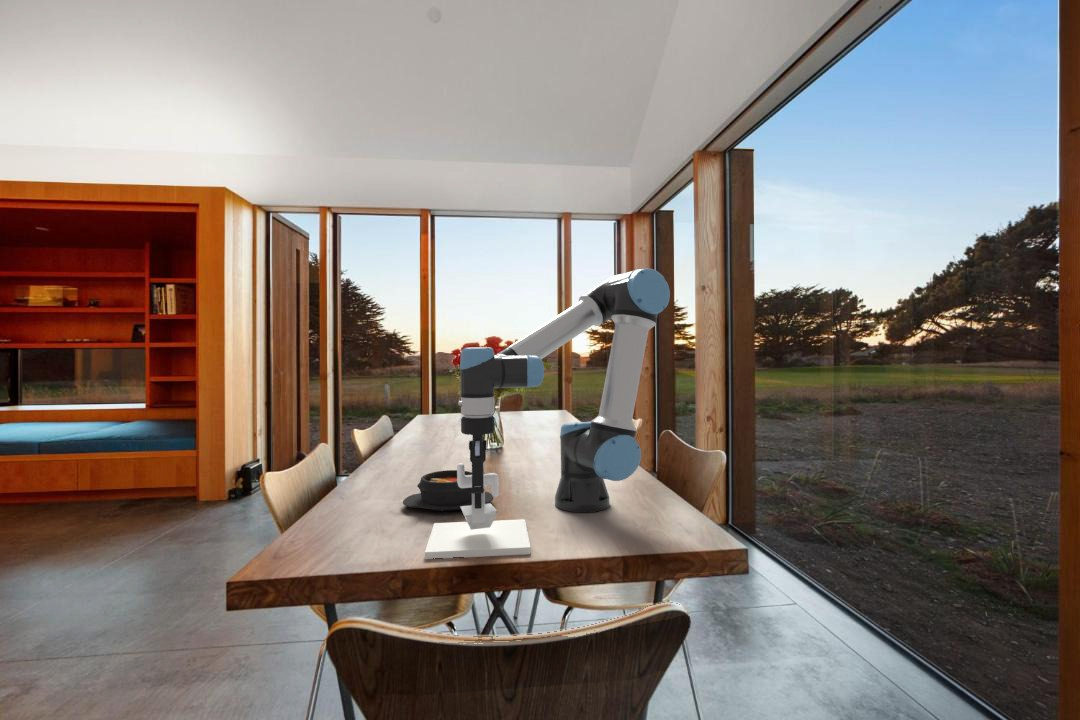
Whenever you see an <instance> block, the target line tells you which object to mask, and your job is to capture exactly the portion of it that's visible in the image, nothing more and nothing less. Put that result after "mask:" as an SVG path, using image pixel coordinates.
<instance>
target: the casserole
mask: <svg viewBox="0 0 1080 720" xmlns="http://www.w3.org/2000/svg"><path fill="white" fill-rule="evenodd" d="M465 475H472V471H466V470H465ZM417 488H418V490H419V493H414V494H411V495H408V496H407V497H405V498H404V499H403V501H402V504H403V506H405V507H407V508H414V509H417V508H418V509H426V510H430V511H436V512H455V511H459V510H461V507H460V506H469V505H472V494H469V490H471V489H472V488H460V487H459V486H458V483H457V469H455V470H454V469H449V470H448V469H447V470H440V471H439V470H438V471H433V472H430V473H429V472H428V473H426V474H424V475H422V476H421V478H420V481H419V482H418V483H417ZM494 498H495V497H493V496H492V492H489V491H485V504H489V503H491V502H492V501H493V500H494Z"/></svg>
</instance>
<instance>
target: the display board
mask: <svg viewBox="0 0 1080 720" xmlns="http://www.w3.org/2000/svg"><path fill="white" fill-rule="evenodd" d="M432 526H433V527H432V529H431V533H430V536H429V537H428V542H427V545H426V548H425V551H424V560H436V559H435V558H443V559H454V558H453V557H464V558H478V557H481V558H483V557H500V556H502V557H505V556H519V555H520V556H521V555H531V553H532V552H531V542H530V538H529V533H528V529H527V528H528V527H527V524H526V519H504V520H503V519H501V520H500V519H498V520H494V521H493V523H492V525H491V527H490V528H481V529H472V530H471V529H470V527H469V525H468V523H467V521H457V522H453V521H452V522H434V523H433V525H432ZM433 558H434V559H433Z"/></svg>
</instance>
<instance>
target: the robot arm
mask: <svg viewBox="0 0 1080 720" xmlns="http://www.w3.org/2000/svg"><path fill="white" fill-rule="evenodd" d="M670 297H671V289H670V287H669V284H668V281H666V279H665V277H664V275H662V273H660V272H659V271H658V270H656V269H653V268H649V267H648V268H636V269H634V270H631V271H628V272H623V273H619V274H614V275H611V276H609V277H608V278H606V279H604V280H602V281H601V282H600V283H599V284H597V285H596V286H594V287H593V288H591V289H590V290H589V291H587V292H585V293H584V294H582V295H581V296H579V297H578V302H576V303H575V304H573V305H572V306H570V307H568V308H566V310H564V311H562V312H561V313H559V314H558V315H556V316H554V317H553V318H551V319H549V320H548V321H547V322H544V324H542V325H540V326H539V327H537V328H535V329H534V330H533V331H531V332H530V333H528V334H526V335H524V336H523V337H521V338H519V339H518V340H517V341H515V342H513V343H512V344H511V345H508V346H507V347H506V348H504V349H502V350H501V351H499V352H498V353H496V354H495V353H494V352H495V351H494V349H493V348H492V347H464V348H463V349H462V350H461V351H460V361H459V363H460V365H459V373H460V376H459V377H460V400H458V402H457V404H458V406H461V407H460V413H461V414H462V416H461V418H460V431H461V433H462V434H463V435H466V436H467V435H468V436H469V435H470V436H472V439H471V440H469V442H468V449H469V462H471V472H472V489H471V490H469V494H472V523H481V522H485V512H484V504H485V492H486V486H484V484H483V463H484V464H485V462H486V460H487V459H486V458H487V457H486V456H487V455H486V454H487V447H488V445H487V443H488V440H487V439H485V437H484V435H490V434H493V433H494V432H495V417H494V416H493V415H494V414H495V389H517V388H527V389H529V388H533V387H534V388H536V387H539V386H540V385H542V383H543V381H544V378H545V367H544V366H545V365H544V362H543V359H544V358H545V357H547V356H548V355H550V354H551V353H554V352H555V351H556V350H557V349H559V348H561V347H562V346H563V345H566V344H567V343H568V342H570V341H572V339H574V338H576V337H578V336H579V335H580V334H582V333H583V332H585V331H587V330H588V329H590V328H591V327H593V326H595V327H598V326H600V325H602V324H604V323H605V322H607V321H610V320H612V322H613V323H614V331H613V336H612V340H611V347H610V353H609V357H608V358H609V359H608V363H607V367H606V374H605V380H604V385H603V389H602V395H601V399H600V400H601V401H600V406H599V412H598V414H597V416H596V417H595V418H593V419H592V420H591V421H579V422H568V423H567V422H566V423H564V424H562V425H561V427H560V435H559V439H560V478H559V482H558V485H557V488H556V493H555V496H554V506H556V507H557V508H558V509H560V510H562V511H568V512H570V513H571V512H572V513H595V512H599V511H603V510H605V509H608V508H609V506H610V496H609V491H608V489H607V486H606V483H605V480H610V481H613V482H620V481H624V480H626V479H629V478H630V476H632V475H633V474H635V472H636V471H637V469H638V467H639V466H640V463H641V461H642V460H641V459H642V450H641V447H640V446H639V443H638V441H637V440H636V437H637V436H636V434H637V431H638V430H637V428H636V427H635V425H634V424H633V417H634V412H635V406H636V401H637V395H638V392H639V385H640V379H641V374H642V368H643V365H644V364H643V362H644V357H645V351H646V347H647V340H648V336H649V331H650V330H651V329H652V328H654V327H655V326H656V324H657V319H658V315H659V314H660V313H661V312H663V311H664V310H665V309H666V308H667V306H669V305H668V304H669V302H670V299H671V298H670ZM484 474H486V473H485V472H484ZM475 486H480V487H475Z"/></svg>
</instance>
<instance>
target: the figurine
mask: <svg viewBox="0 0 1080 720" xmlns="http://www.w3.org/2000/svg"><path fill="white" fill-rule="evenodd" d="M456 470H457V483H458V486H459V487H460V488H472V475H465V471H466V470H465V464H464V463H462V462H459V463H458V464H457V465H456ZM484 473H485V462H484V463H483V484H484V486H485V487H490V488H491V489H490V490H491V494H492V496H493V497H494V498H498V497H499V495H500V484H499V483H500V479H499V475H498V474H497V473H495V472H490V473H485V474H484ZM475 487H480V486H475ZM460 507H461V509H460V510H461V511H462V514H463V516H464V518H465V522H467V523H468V525H469V527H470V529H471V530H472V529H481V528H490V527H491V525H492V523H493V521H495V519H496V517H497V515H498V510H497V509H496V508H495V507H494V505H493V504H492V503H491V502H489V503H487V504H484V512H485V522H481V523H472V505H469V506H460Z"/></svg>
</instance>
